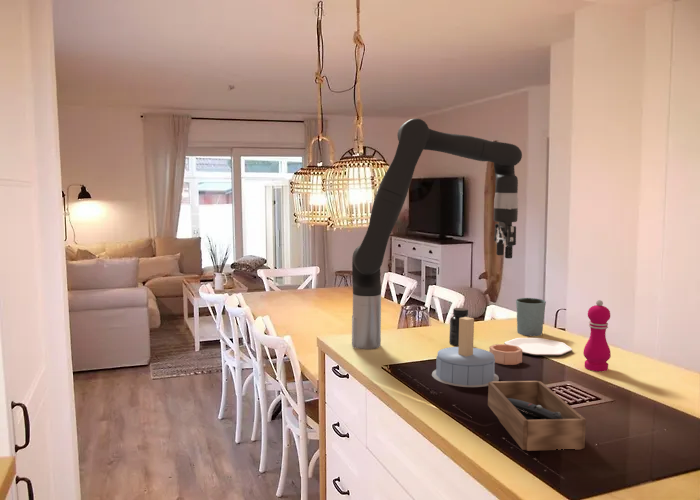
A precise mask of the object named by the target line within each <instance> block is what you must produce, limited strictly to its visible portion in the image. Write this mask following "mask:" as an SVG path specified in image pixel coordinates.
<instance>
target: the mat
mask: <svg viewBox="0 0 700 500" xmlns="http://www.w3.org/2000/svg"><path fill="white" fill-rule="evenodd" d="M431 376H432V378H433V379H434V380H436V381H438V382H440V383H442V384H446V385H450V386H455V387H463V388H482V387H488V383H486V384H483V385H461V384H453V383H449V382H447V381H444V380H441V379H440V378H439V377H438V376H437V375H436V369H434V370H433V371H432V373H431ZM499 380H500V378H499V375H498V374H496V373H495V375H494V379H493V381H499Z"/></svg>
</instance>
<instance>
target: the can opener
mask: <svg viewBox="0 0 700 500" xmlns="http://www.w3.org/2000/svg"><path fill="white" fill-rule="evenodd" d="M507 399H508V400H509V401H510V402H511V403H512V404H513V405H514V406H515V407H516V409H517V410H518V411H519V412H520V413H521V414H522V415H523V416H524V417H525V418H526V419H527V420H536V419H563V418H562V417H561V414H560V412H551V411H549V410H547V409H545V408H542V406H541V405H535V404H532V403H529V402H525V401H521V400H517V399H512V398H507Z"/></svg>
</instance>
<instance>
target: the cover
mask: <svg viewBox="0 0 700 500" xmlns="http://www.w3.org/2000/svg"><path fill="white" fill-rule="evenodd" d="M474 332H475V318H473V317H469V316H467V317H462V318H459V346H451V347H445V348H441V349H440V350H438V351H437V355H436V361H435V363H436V365H435V366H436V367H435V368H436V369H435V370H436V375H437V376H438V377H439V378H440V379H441V380H444V381H447V382H449V383H453V384H461V385H483V384H486V383H489V382H491V381H493V379H494V375H495V374H496V371H495V370H496V369H495V367H496V365H495V364H496V363H495V359H494V355H493V354H492V353H491V352H489V351H490V350H489V351H488V350H487V349H486V350H485V349H483V348H477V347H474V340H475V338H474V335H475V333H474Z"/></svg>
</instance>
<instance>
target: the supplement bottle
mask: <svg viewBox="0 0 700 500" xmlns="http://www.w3.org/2000/svg"><path fill="white" fill-rule="evenodd" d="M452 311H453V313H452V315H453V316H451V317H450V319H449V338H448V339H449V345H451V346H453V347H459V318H462V317H468V316H469V309H468V308H465V307H454V308H453V310H452Z"/></svg>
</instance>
